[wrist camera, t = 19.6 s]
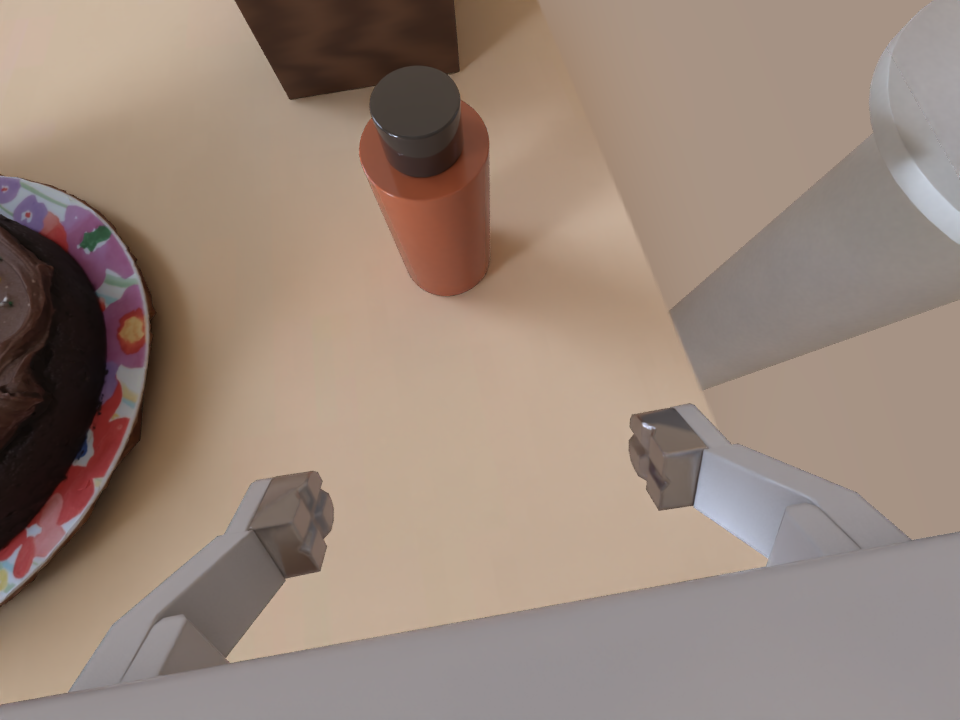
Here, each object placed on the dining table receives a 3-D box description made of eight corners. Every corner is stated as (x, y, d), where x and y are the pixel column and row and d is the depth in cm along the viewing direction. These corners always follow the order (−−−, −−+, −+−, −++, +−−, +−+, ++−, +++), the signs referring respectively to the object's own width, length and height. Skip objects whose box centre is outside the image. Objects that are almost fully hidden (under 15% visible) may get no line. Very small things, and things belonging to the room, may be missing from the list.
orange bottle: (482, 212, 25) (475, 32, 15) (497, 288, 24) (501, 149, 14) (400, 226, 25) (334, 55, 15) (411, 303, 24) (347, 175, 13)
